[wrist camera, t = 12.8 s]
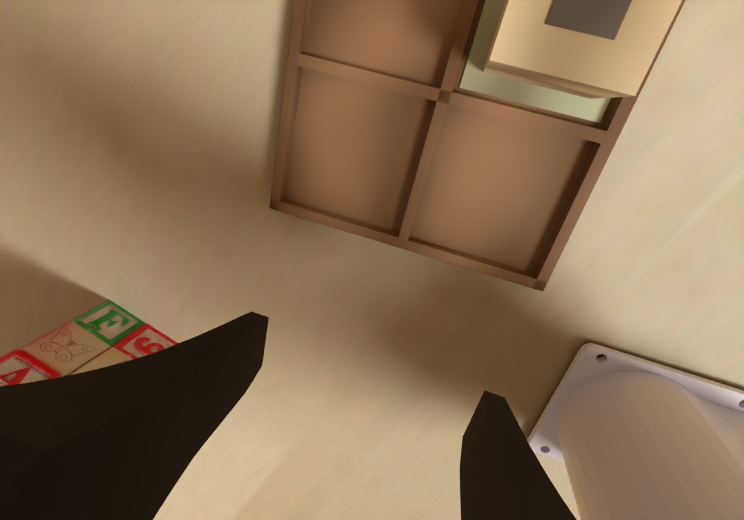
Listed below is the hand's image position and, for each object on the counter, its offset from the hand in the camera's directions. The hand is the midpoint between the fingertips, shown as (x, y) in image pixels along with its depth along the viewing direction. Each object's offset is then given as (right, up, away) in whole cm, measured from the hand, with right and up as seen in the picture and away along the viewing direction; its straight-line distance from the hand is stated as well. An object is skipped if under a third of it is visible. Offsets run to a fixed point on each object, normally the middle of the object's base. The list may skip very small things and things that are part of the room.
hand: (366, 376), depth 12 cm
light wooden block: (+8, +13, +3) cm, 15 cm away
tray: (+3, +11, +5) cm, 13 cm away
